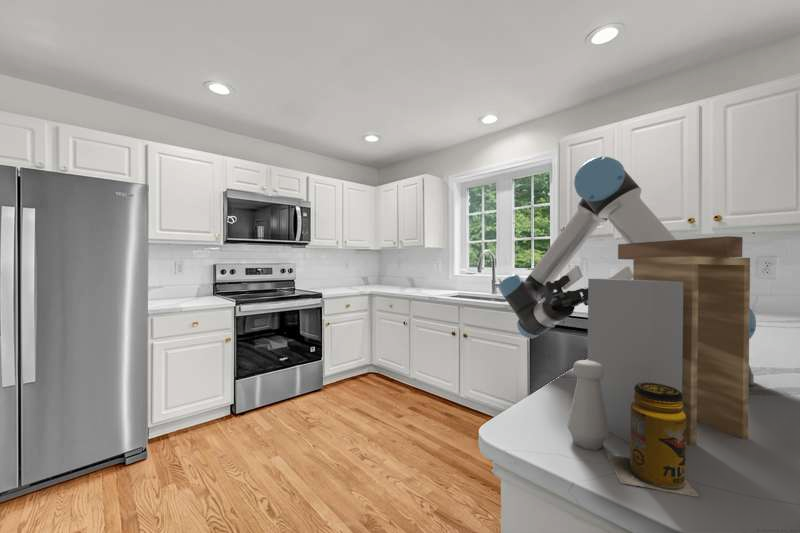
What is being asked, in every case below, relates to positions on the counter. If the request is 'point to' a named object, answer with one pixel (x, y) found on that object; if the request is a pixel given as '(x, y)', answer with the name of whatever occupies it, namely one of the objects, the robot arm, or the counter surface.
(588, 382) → the salt shaker
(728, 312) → the oak shelf
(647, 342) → the stone block
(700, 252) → the walnut rail
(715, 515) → the counter surface
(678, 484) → the condiment
